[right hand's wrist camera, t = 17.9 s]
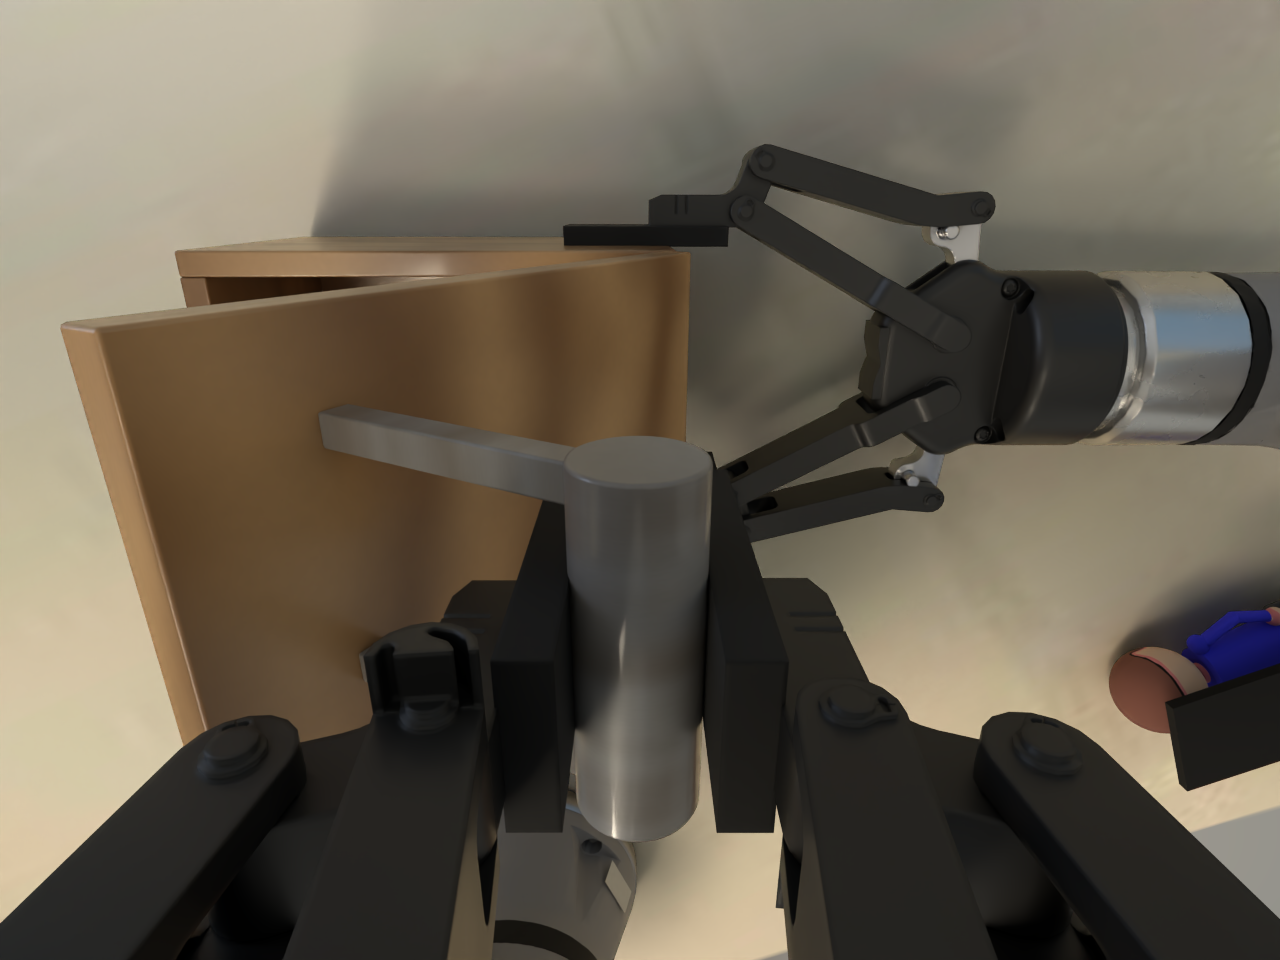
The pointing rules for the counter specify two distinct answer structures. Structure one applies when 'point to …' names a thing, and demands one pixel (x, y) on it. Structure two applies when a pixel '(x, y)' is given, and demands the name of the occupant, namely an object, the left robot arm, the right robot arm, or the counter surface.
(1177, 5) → the counter surface
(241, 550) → the lid
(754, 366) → the counter surface
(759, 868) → the counter surface
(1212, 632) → the figurine character
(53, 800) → the counter surface
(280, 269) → the chest
